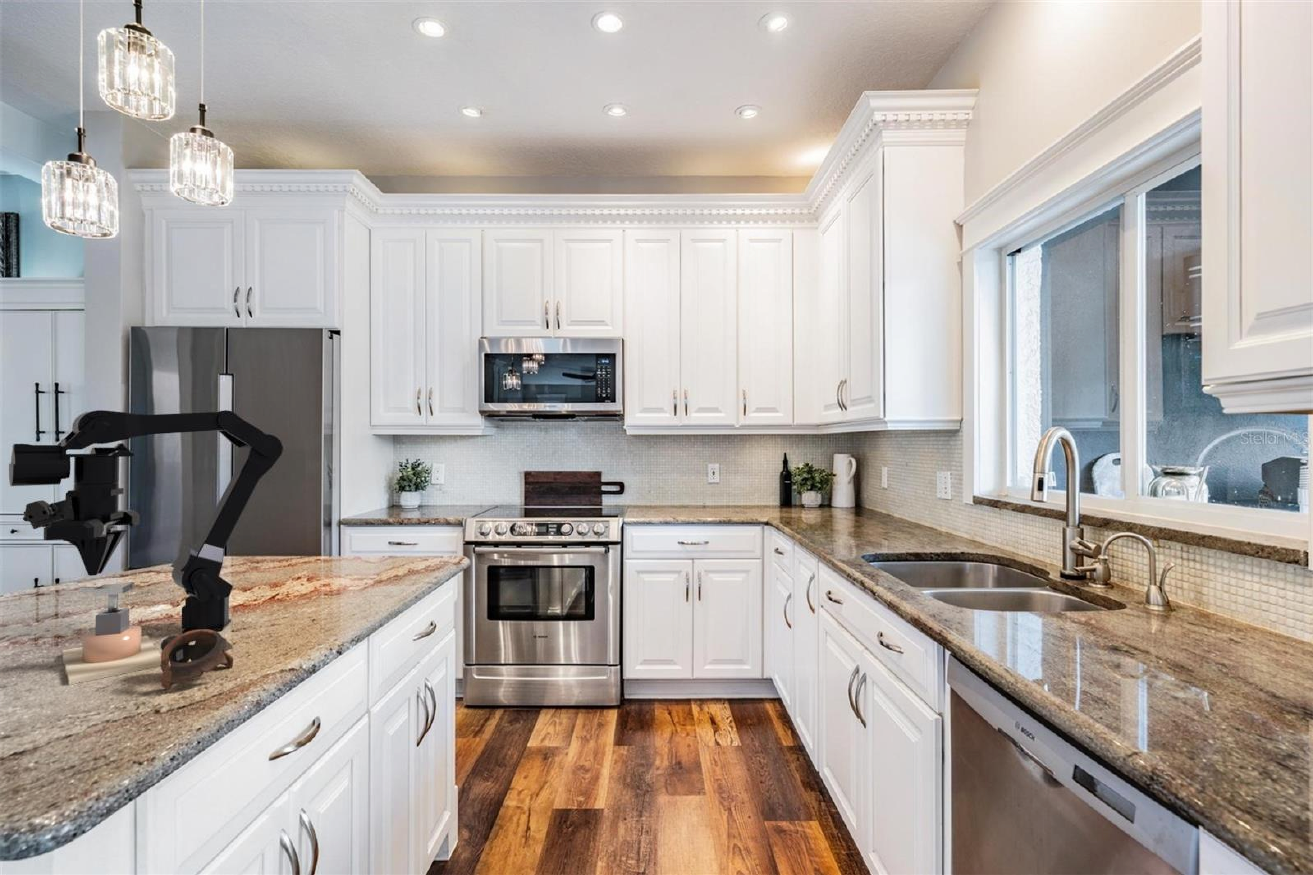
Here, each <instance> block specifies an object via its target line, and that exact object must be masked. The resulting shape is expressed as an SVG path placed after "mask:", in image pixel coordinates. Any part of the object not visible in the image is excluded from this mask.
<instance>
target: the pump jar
mask: <svg viewBox="0 0 1313 875" xmlns="http://www.w3.org/2000/svg"><path fill="white" fill-rule="evenodd" d="M141 637H142V626H140V625H133V624H132V625H131V624H130V607H129V608H118V611H117V612H113V613H108V609H105V610H103V611H101V612H99V613H97V614H96V615H95V630H92V631H89V632H86V633H84V634H83V635H82V637H81V640H82V641H81V642H82V643H81V647H82V662H85V663H103V662H110V661H116V660H120V659H124V658H128V657H131V656H134V655H136V654H138V653H140V652H141Z"/></svg>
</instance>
